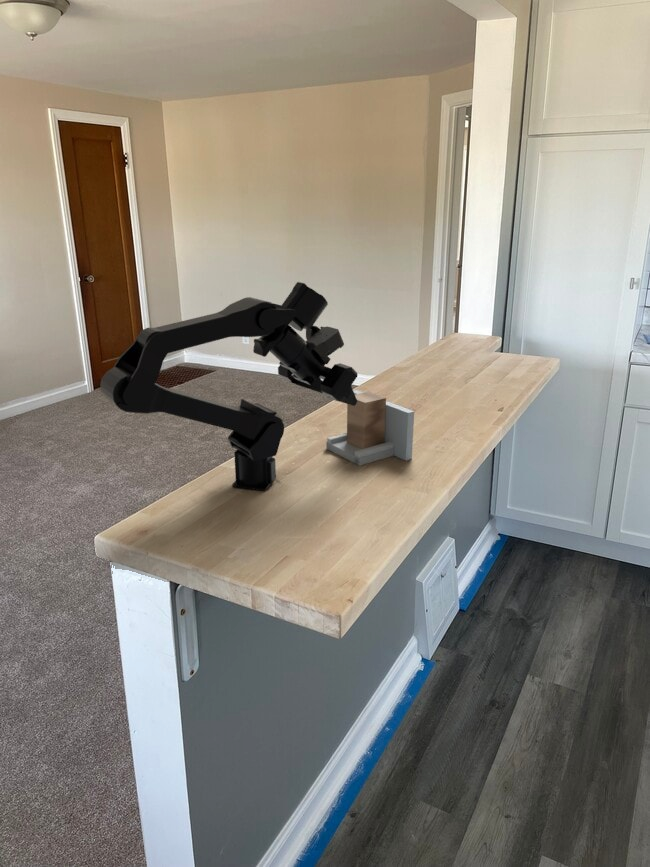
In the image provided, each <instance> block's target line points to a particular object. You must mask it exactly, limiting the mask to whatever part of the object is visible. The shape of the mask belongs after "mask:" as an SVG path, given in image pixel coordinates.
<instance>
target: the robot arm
mask: <svg viewBox="0 0 650 867" xmlns="http://www.w3.org/2000/svg"><path fill="white" fill-rule="evenodd" d="M328 305H329V303H328V301H327V299H326V297H324V296H323V295H322V294H320V293H319V292H317V291H316V290H314V289H313V288H311V287H309V286H308V285H307V284H306V283H305V282H301V281H297V282H296V283H295V284H294V286H293V288H292V290H291V291H290V293H289V294H288V296H287V297H286V298H285V300H284V302H282V304H276V303H273V302H271V301H267V300H262V299H259V298H254V297H250V296H249V297H248V296H247V297H244V298H242V299H239V300H237V301H235V302H232V303H231V304H228V305H227V306H226V307H224V308H223V309H222V310H220V311H217V312H215V313H211V314H206V315H201V316H198V317H193V318H190V319H185V320H181V321H177V322H172V323H168V324H164V325H160V326H156V327H146V328H144V329H141V331H140V332H139V333H138V334H137V336H136V338H135V340H134V341H133V343H132V344H131V345H130V346H129V347H128V348H127V349H126V350H125V351H124V352H123V353H122V354H121V355H120V356H119V357H118V359H117V360H116V362H115V364H114V366H113V367H112V368H111V369H109V370H107V371H106V372H105V373H104V374H103V376H102V378H101V380H100V385H99V386H100V391H101V393H102V396H103V397H104V398H105V399H106V400H107V401H109V402H110V403H112V405H114V406H116V407H117V408H118V409H119V410H121V411H123V412H125V413H131V414H132V413H133V414H145V415H146V414H157V413H158V414H159V413H162V414H163V413H164V414H167V415H171V416H176V417H178V418H179V417H180V418H183V419H187V420H191V421H196V422H199V423H203V424H206V425H212V426H215V427H219V428H221V429H222V428H223V429H226V430H230V431H231V433H230V434H229V435H228V436H227V440H228V442H229V445H230V446H231V448H234V449H235V451H234V452H233V453H234V454H233V456H234V472H235V474H234V475H235V481H233V482H232V484H231V485H232V488H238V489H245V490H247V489H248V490H253V491H255V490H256V491H264V492H265V491H266V490H268V489H269V487H270V486H271V484H273V483H274V481H275V480H276V478H277V472H276V468H277V466H276V459H275V456H277V454H278V450H279V447H280V443H281V440H282V438H283V437H284V436H283V435H284V432H285V424H284V421H283V419H282V418H281V417H279V416H277V414H278V412H277V411H275V410H273V409H270V408H268V407H266V406H264V405H262V404H260V403H258V402H257V403H251V402H249V401H247V400H245V399H244V398H241V400H240V405H238V406H237V405H236V406H231V405H227V404H224V403H220V402H217V401H213V400H210V399H205V398H203V397H200V396H195V395H193V394H189V393H185V392H182V391H179V390H175V389H171V388H168V387H164V386H162V385H160V384H158V383H156V382H157V381H158V380H159V376H160V372H161V370H162V367H163V362H164V360H165V359H166V357H167V355H168V354H171V353H175V352H178V351H182V350H186V349H190V348H193V347H197V346H201V345H205V344H209V343H212V342H215V341H220V340H222V339H223V340H224V339H227V338H234V337H237V338H238V337H239V338H254V339H253V343H254V344H253V350H252V351H253V354H256V355H259V356H260V357H267V356H268V354H269V353H270V354H272V355H273V356H274V357H275V358H276V359H277V360H278V361H279V362H278V364H279V366H278V367H277V373H278V375H279V376H280V377H281V378H282V379H283V380H285V381H287V382H289V383H291V384H293V385H297V386H299V387H302V388H304V389H309V390H311V391H314V392H317V393H320V394H323V395H324V396H327V398H328V399H330V400H333V401H336V402H340V403H343V404H350V405H353V406H355V405H356V403H357V399H356V396H355V394H354V392H353V391H354V389H353V386H352V385H353V383H354V382H355V381H356V380H357V377H358V372H357V371H356V370H355V369H354V368H353V367H352V366H349V365H346V364H343V363H341V362H340V363H335V364H333V366H332V367H329V366H326V365H328V364H329V363H330V361H331V360H332V358H330V355H332V354H333V353H334V352H336V351H338V349H342V348H343V347H344V345H345V343H344V340H343V338H342V336H341V335H342V334H341V332H340V329H338V328H335V327H332V326H320V327H318V326H316V325H315V323H316V322H317V320H318V319H319V318H320V316H321V315H322V313H323V312H324V310H325V309H326V308H327V306H328ZM303 330H305V339H306V340H305V339H304V338H303V337H302V336H301V335H300V334H299V333H298V332H297V331H299V332H302V331H303ZM255 337H258V338H255Z"/></svg>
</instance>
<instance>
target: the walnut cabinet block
mask: <svg viewBox="0 0 650 867" xmlns="http://www.w3.org/2000/svg"><path fill="white" fill-rule="evenodd" d="M355 396H356V399H357V403H356V405H355V406H353V405H350V404H347V405H346V406H347V407H346V408H347V412H346V433H347V443H349V444H351V445H353V446H355V447H357V448H359V449H365V448H369V447H372V446H376V445H380V444H383V443H385V417H386V401H387V397H385V396H382V395H379V394H376V393H373V392H371V391H365V392H363V393H360V394H355Z"/></svg>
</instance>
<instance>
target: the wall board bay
mask: <svg viewBox="0 0 650 867" xmlns="http://www.w3.org/2000/svg"><path fill="white" fill-rule="evenodd" d="M353 392H354V394H360V393H364V392H363V391H360V390H357V389H355V390H353ZM414 422H415V411H414V410H411V409H409V408H405V407H403V406H401V405H397V404H395V403H392V402H389V401H387V400H386V417H385V443H383V444H380V445H376V446H372V447H369V448H365V449H359V448H357V447H355V446H353V445H351V444H349V443H347V432H345V433H341V434H337V435H334V436H329V437H327V439H326V444H325V445H326V446H325V447H326V449H327V450H328V451H330V452H331V453H334V454H335V455H338V456H340V457H343V459H346V460H348V461H350V462H351V463H353V464H356V465H357V466H359V467H360V466H362V465H366V464H370V463H373V462H376V461H380V460H383V459H387V458H389V457H390V458H391V457H393V456H395V457H397V458H399V459H401V460H404V461H405V462H407V461H409V460H412V459H413V443H414V424H415V423H414Z"/></svg>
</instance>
